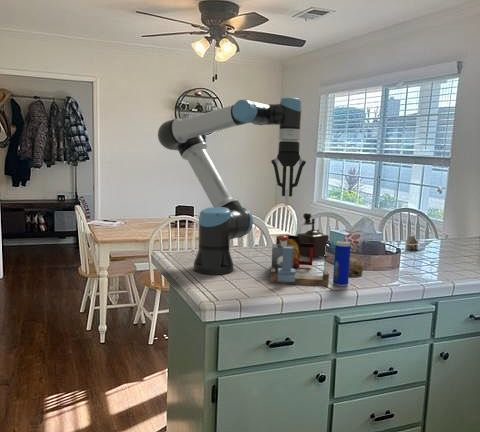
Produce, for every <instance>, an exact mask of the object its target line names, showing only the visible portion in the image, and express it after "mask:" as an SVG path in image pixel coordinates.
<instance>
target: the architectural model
mask: <svg viewBox="0 0 480 432" xmlns="http://www.w3.org/2000/svg"><path fill="white" fill-rule="evenodd" d="M405 245H406V248H405V249H406V250H407V249H408V250H413V251H414V250H418V246H419V245H420V243H419V240H417V239H416V234H413V235H407V236H406V243H405Z"/></svg>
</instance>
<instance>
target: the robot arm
mask: <svg viewBox="0 0 480 432" xmlns="http://www.w3.org/2000/svg"><path fill="white" fill-rule="evenodd" d="M301 116H302V101H301V99H300V98H298V97H292V96H291V97H288V96H287V97H282V98H281V99H280V103H272V104H269V103H263V102H262V103H261V102H258V101H254V100H250V99H239V100H237V101H236V102H235V103H234V104H232V105H227V106H225V107H222V108H218V109H215V110H212V111H209V112H204V113H201V114H198V115H194V116H191V117H188V118H183V119H182V118H178V117H177V118H174V119H172V120H167V121H164V122H162V124H161V125H160V126H159V128H158V130H157V138H158V142H159V143H160V145H161V146H163V147H164V148H165V149H167V150H171V151H178V153H179V155H180V157H181V158H182V159H183V160H186V161H187V162H188V164H189V165H190V167H191V169H192V171H193V173H194V174H195V177H196V178H197V180H198V182H199V184H200V185H201V188H202V189H203V191H204V193H205V195H206V196H207V198H208V200H209V202H210V204H211V206H212V207H208V208H204V209H202V210H201V211H200V212H199V219H198V224H199V225H198V251H197V253H196V256H195V259H194V262H193V271H194V272H196V273H200V274H205V275H223V274H229V273H232V272H234V262H233V259H232V255H231V251H230V245H231V244H230V243H231V242H230V241H231V240H233V239H239V238H242V237H244V236H246V235H248V234H249V233H250V232H251V230H252V228H253V225H254V217H253V214H252V213H251V211H250V209H248V208H245V207H242V205H241V203H240V201H239V200H238V199H236V198H233V197H232V196H233V195H232V194H231V193H230V191H229V189H228V187H227V186H226V184H225V182H224V180H223V179H222V177H221V175H220V173H219V171H218V170H217V167H216V166H215V164H214V163H213V161H212V159H211V157H210V155H209V154H208V152H207V151H206V150H207V147H208V145H207V140H206V139H207V134H211V133H215V132H219V131H223V130H226V129H230V128H235V127H237V126H238V127H239V126H243V125H246V124H249V123H250V124H252V125H255V126H256V125H257V126H274V125H276V126H279V133H278V134H279V135H278V136H279V138H278V140H279V142H278V154H277V156H276V157H275V158H273V159H271V162H270V163H271V164H272V165H273V168H274V169H273V170H274V175H275V179H276V183H277V186H279V187H281V196H282V197H284V207H287V206H290V205H289V203H290V197H291V198H292V196H293V188H295V187H298V184H299V182H300V178H301V174H302V171H303V168H304V166H305V165H306V160H303V159H302V158H301V155H300V142H299V141H300V140H301V139H300V138H301V120H302V117H301ZM298 162H299V163H298ZM279 163H280V165H281V166H282V182H281V178H280V174H279V168H278V164H279ZM297 164H298V165H299V167H298V169H297V173H296V177H295V180H294V167H295V166H296V165H297ZM287 167H289V178H288V179H289V184H288V185H289V186H288V187H286V185H287V184H286V183H287V182H286V180H287ZM293 182H294V183H293Z"/></svg>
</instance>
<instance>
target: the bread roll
mask: <svg viewBox="0 0 480 432" xmlns="http://www.w3.org/2000/svg"><path fill="white" fill-rule="evenodd" d="M363 270H364V269H363V266H362V265H361V262H359V260H358V259H357V258H356V259H355V258H353V257H350V262H349V277H356V276H357V277H358V276H360V275H362V274H363Z"/></svg>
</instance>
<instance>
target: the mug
mask: <svg viewBox="0 0 480 432" xmlns="http://www.w3.org/2000/svg"><path fill="white" fill-rule="evenodd" d="M285 235H286V236H288V239H287V245H294V259H293V269H295V270H297V269H300V266H313V259H314V258H313V243H301V237H299V236H297V235H289V234H285ZM275 239H276V240H275V241H276V243H275V244H280V239H279V235H277V236H276V238H275ZM300 247H309V248H310V257H309V260H300V259H301V258H300V257H301V255H300Z"/></svg>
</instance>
